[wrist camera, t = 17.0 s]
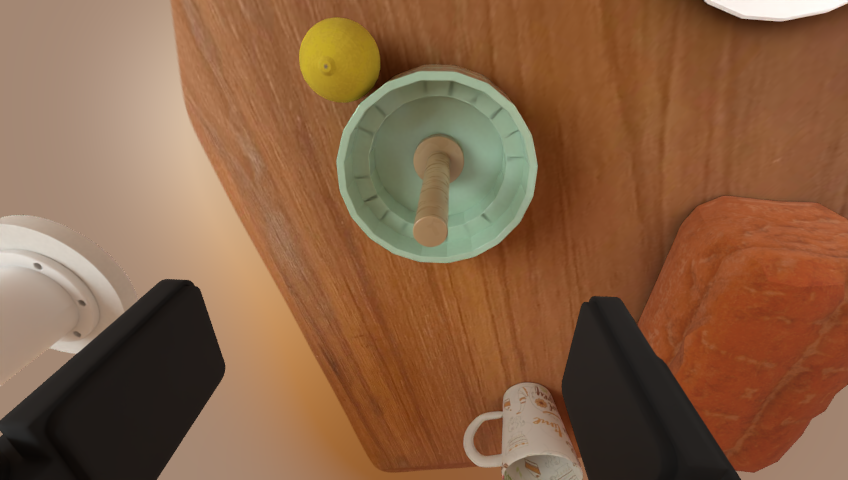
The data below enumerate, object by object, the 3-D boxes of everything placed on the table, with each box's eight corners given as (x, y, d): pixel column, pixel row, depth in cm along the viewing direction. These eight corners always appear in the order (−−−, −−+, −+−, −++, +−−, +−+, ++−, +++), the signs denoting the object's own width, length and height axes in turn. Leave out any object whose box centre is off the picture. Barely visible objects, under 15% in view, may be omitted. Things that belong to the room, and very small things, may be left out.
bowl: (361, 227, 39) (346, 259, 34) (347, 62, 32) (326, 70, 26) (513, 233, 38) (523, 266, 33) (535, 64, 31) (552, 72, 25)
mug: (565, 413, 50) (588, 495, 41) (472, 428, 53) (475, 507, 44) (554, 369, 46) (576, 449, 38) (454, 387, 49) (454, 465, 41)
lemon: (370, 105, 33) (348, 127, 26) (310, 72, 32) (270, 84, 25) (399, 42, 31) (383, 46, 24) (335, 3, 30) (298, -4, 23)
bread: (858, 204, 34) (1007, 271, 25) (725, 404, 47) (791, 496, 38) (680, 190, 35) (762, 250, 25) (597, 391, 48) (631, 479, 39)
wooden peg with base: (414, 181, 35) (392, 263, 23) (414, 132, 33) (390, 195, 21) (462, 182, 35) (466, 266, 23) (465, 133, 33) (471, 197, 21)
